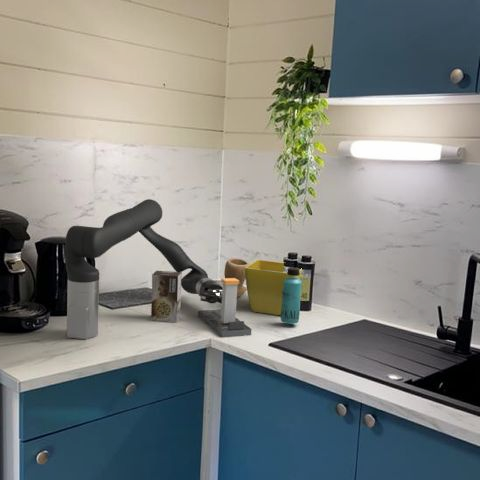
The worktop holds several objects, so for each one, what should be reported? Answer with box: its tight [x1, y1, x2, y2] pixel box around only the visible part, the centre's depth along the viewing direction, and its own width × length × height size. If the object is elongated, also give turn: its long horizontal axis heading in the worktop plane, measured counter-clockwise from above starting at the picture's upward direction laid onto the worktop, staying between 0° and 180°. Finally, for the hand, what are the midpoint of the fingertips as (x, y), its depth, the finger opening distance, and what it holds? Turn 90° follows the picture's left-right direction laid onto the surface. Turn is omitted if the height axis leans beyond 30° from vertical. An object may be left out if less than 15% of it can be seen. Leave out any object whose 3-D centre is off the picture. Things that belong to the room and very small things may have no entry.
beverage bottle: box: [280, 268, 303, 325], centre depth 205 cm, size 6×7×20 cm
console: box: [196, 309, 252, 338], centre depth 202 cm, size 24×10×4 cm, turn 23°
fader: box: [220, 277, 239, 323], centre depth 197 cm, size 4×5×14 cm
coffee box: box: [150, 270, 183, 323], centre depth 204 cm, size 9×6×16 cm
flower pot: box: [245, 259, 302, 316], centre depth 224 cm, size 19×19×17 cm
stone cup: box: [223, 257, 250, 298], centre depth 244 cm, size 15×12×15 cm
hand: (227, 302), depth 199 cm, fingers closed
